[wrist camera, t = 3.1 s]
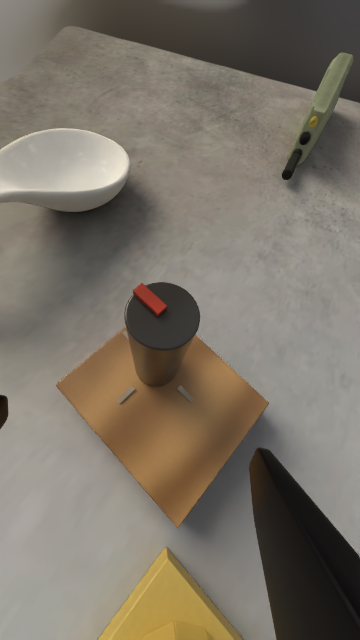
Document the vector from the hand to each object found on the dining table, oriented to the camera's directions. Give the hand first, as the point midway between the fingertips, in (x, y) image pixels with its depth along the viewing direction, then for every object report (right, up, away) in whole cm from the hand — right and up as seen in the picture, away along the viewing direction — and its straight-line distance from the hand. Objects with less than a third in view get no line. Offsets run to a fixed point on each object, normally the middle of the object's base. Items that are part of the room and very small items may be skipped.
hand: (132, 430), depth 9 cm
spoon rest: (-12, +14, +17) cm, 25 cm away
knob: (0, +1, +10) cm, 10 cm away
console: (0, -2, +11) cm, 12 cm away
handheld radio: (+21, +32, +30) cm, 48 cm away
